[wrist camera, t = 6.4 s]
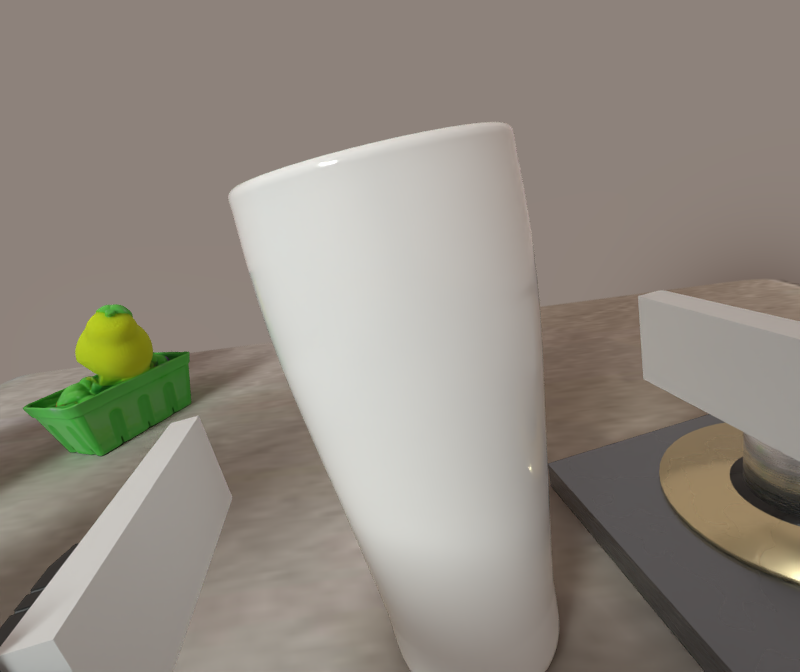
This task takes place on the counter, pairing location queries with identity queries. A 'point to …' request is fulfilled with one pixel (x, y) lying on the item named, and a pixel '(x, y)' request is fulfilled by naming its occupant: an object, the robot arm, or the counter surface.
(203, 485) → the robot arm
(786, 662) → the bolt plate
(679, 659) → the counter surface
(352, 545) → the counter surface
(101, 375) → the fruit basket
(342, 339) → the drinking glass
